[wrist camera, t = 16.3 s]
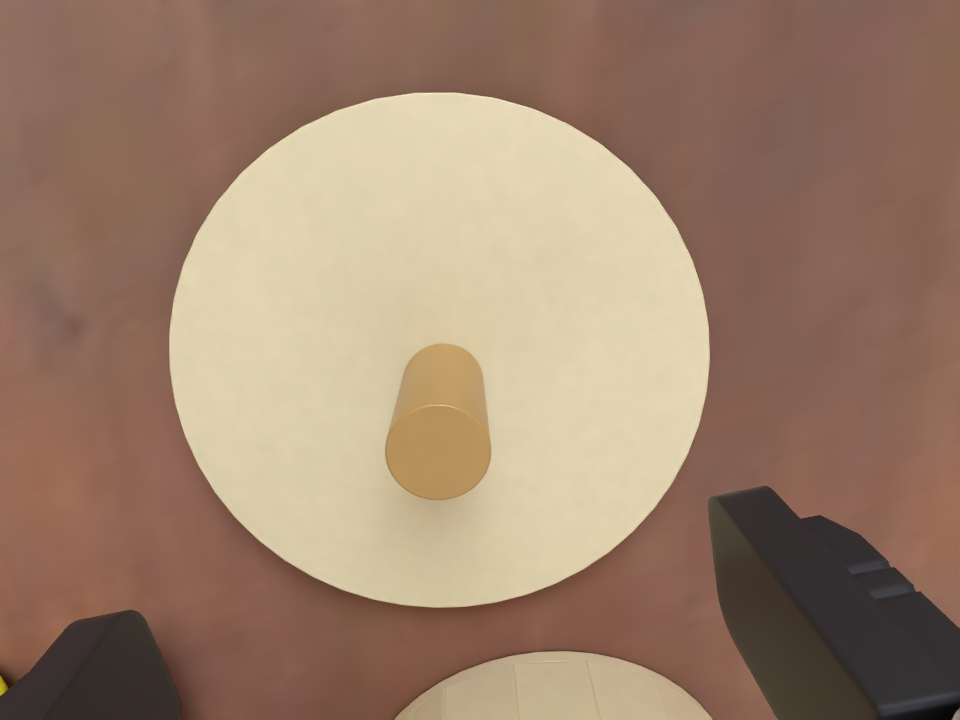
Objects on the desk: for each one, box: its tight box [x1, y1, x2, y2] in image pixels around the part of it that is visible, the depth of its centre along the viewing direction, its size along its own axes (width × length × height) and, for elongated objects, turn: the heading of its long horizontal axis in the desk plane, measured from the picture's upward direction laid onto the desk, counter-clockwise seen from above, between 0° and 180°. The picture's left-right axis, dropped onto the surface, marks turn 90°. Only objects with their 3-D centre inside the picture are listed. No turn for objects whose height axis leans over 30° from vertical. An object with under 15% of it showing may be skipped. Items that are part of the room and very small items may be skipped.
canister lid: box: [169, 93, 710, 608], centre depth 17 cm, size 15×15×6 cm
